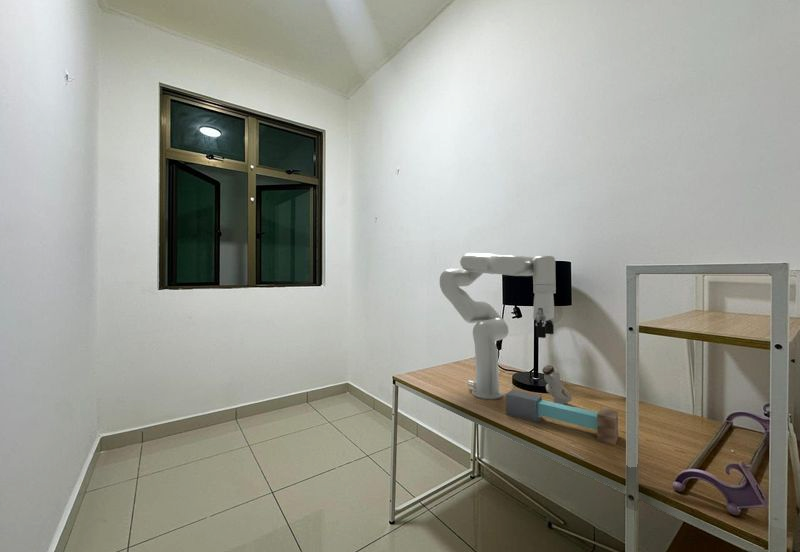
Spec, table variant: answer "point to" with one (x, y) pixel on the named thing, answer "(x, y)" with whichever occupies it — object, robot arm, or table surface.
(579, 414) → the light blue long bar
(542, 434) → the table surface
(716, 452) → the table surface
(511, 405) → the sleeve
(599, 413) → the brown rectangular block
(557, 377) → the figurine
